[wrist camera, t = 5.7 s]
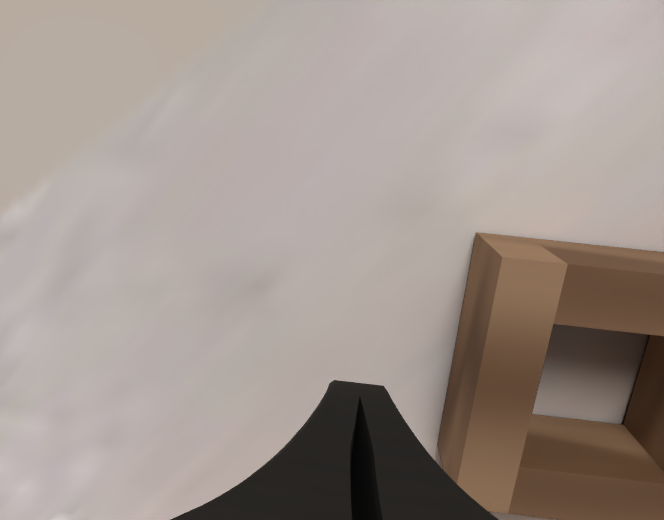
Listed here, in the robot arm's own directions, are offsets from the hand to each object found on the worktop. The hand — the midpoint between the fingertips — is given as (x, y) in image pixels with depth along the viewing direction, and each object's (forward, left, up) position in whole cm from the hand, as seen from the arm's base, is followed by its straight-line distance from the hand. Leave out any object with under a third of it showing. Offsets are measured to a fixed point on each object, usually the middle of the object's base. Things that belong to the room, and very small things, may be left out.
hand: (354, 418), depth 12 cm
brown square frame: (0, -7, -5) cm, 9 cm away
